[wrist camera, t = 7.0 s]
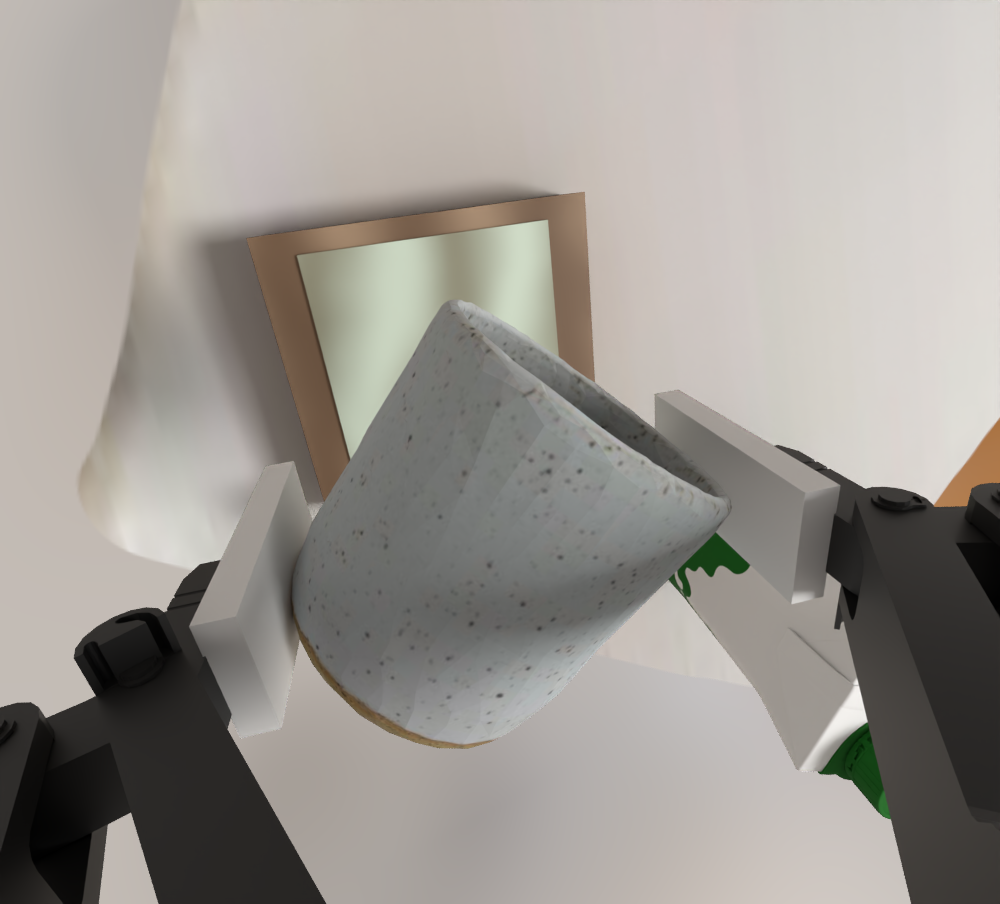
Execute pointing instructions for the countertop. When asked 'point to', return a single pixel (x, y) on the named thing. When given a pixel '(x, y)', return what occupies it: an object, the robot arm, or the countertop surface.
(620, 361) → the countertop surface
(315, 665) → the ceramic mug
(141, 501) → the countertop surface
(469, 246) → the step
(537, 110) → the countertop surface
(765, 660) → the milk carton
